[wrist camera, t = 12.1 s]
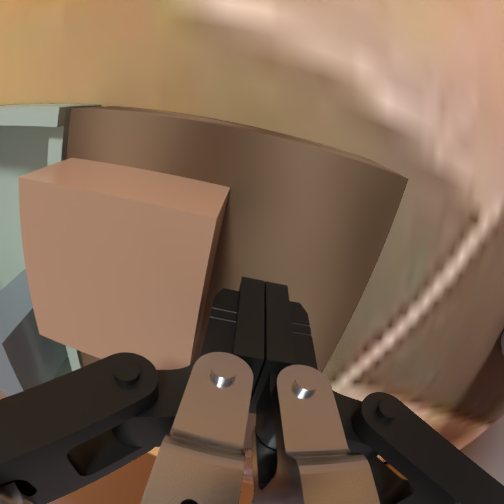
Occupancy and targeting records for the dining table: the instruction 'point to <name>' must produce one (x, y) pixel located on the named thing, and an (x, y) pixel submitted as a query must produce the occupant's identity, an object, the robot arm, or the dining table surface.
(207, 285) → the terracotta tile
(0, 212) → the tray
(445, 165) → the dining table surface
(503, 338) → the coffee cup
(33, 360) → the slate tile
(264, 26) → the dining table surface
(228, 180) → the grey brown flat block
